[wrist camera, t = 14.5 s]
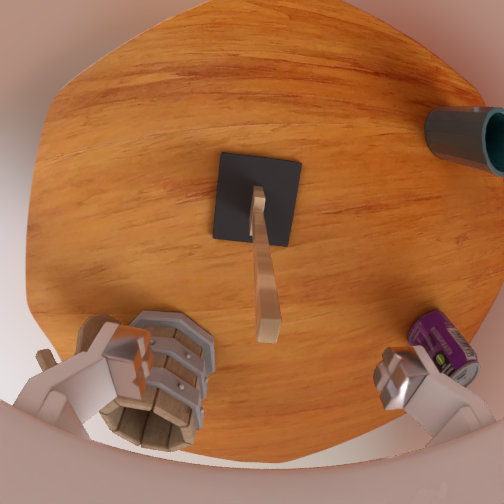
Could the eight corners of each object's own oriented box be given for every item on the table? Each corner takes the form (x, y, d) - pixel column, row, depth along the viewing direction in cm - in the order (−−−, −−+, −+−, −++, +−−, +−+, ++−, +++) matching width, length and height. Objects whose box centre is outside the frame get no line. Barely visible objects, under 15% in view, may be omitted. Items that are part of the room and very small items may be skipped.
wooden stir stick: (253, 185, 28) (263, 291, 10) (262, 186, 28) (289, 294, 10) (249, 217, 30) (251, 361, 11) (258, 218, 30) (273, 363, 11)
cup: (427, 98, 25) (485, 96, 15) (466, 117, 25) (522, 123, 16) (420, 151, 27) (477, 165, 18) (459, 166, 28) (514, 184, 18)
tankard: (234, 350, 37) (229, 446, 24) (178, 388, 41) (161, 469, 27) (114, 252, 32) (47, 328, 18) (74, 309, 35) (21, 381, 21)
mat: (221, 152, 27) (220, 152, 27) (301, 162, 28) (302, 163, 27) (213, 236, 31) (212, 238, 30) (287, 244, 32) (287, 247, 31)
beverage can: (401, 325, 37) (437, 384, 26) (439, 299, 35) (483, 350, 24) (411, 352, 39) (442, 406, 28) (446, 328, 38) (482, 377, 26)
